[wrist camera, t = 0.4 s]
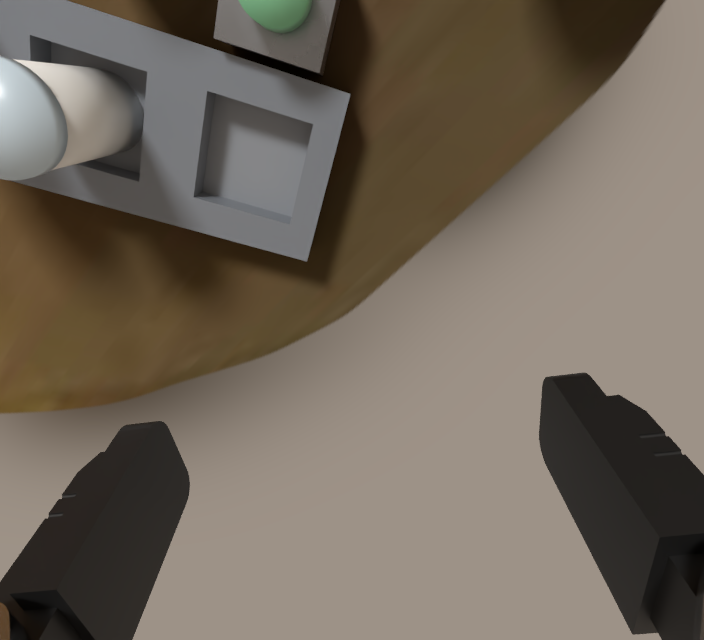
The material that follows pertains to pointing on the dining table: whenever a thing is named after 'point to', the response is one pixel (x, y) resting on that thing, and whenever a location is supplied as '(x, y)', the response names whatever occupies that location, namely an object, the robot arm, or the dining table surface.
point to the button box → (280, 35)
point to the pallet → (192, 129)
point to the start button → (278, 13)
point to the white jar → (62, 116)
